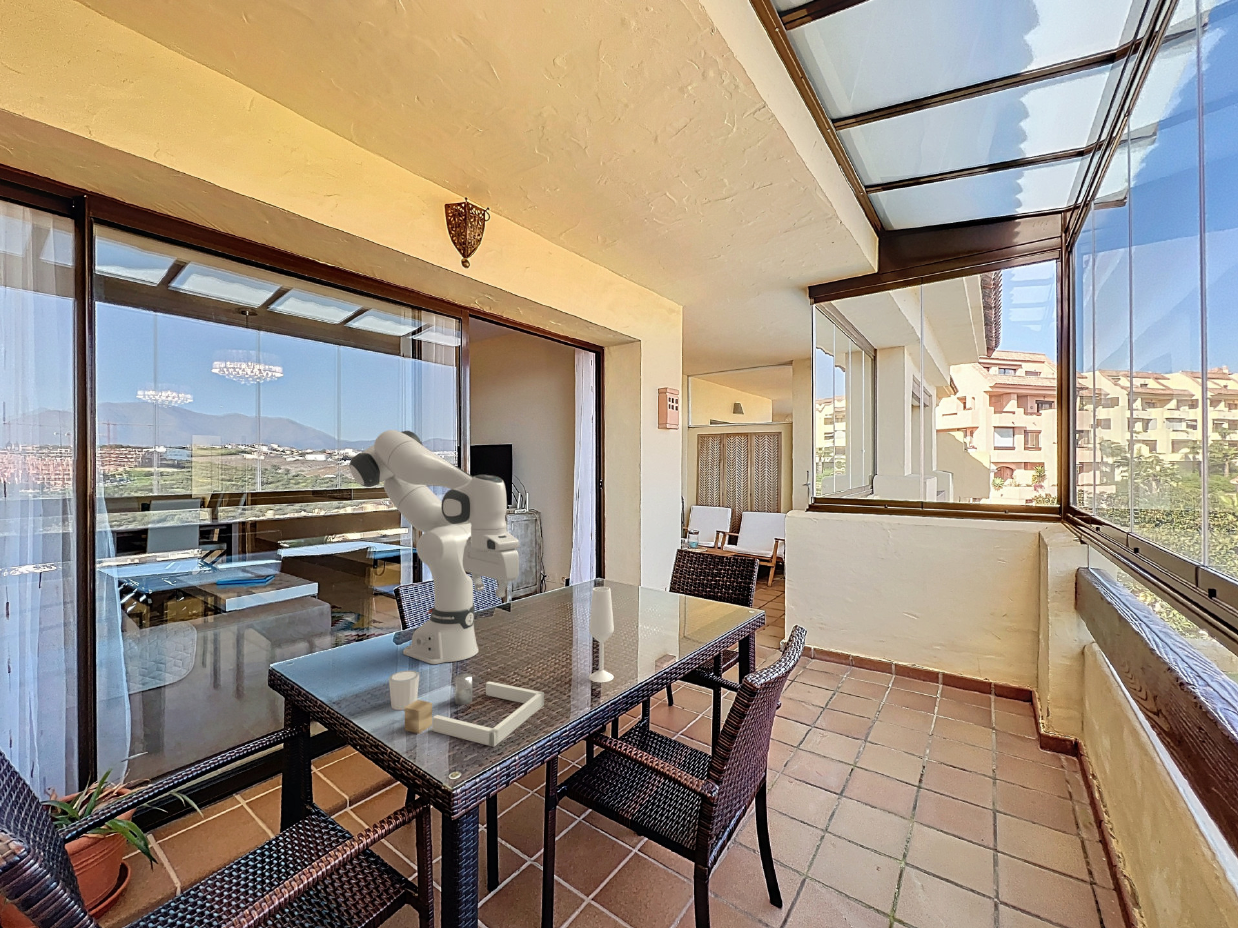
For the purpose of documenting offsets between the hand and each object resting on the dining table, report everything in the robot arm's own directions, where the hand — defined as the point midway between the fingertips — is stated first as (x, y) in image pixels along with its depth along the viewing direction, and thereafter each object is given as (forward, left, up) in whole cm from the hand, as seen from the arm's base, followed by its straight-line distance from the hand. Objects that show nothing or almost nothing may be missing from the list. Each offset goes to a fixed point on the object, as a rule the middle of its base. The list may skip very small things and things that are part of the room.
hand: (489, 593), depth 135 cm
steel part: (-2, -7, -25) cm, 26 cm away
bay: (+9, -11, -25) cm, 29 cm away
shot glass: (-14, -14, -25) cm, 32 cm away
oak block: (-3, -21, -25) cm, 33 cm away
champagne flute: (+23, +19, -25) cm, 39 cm away
